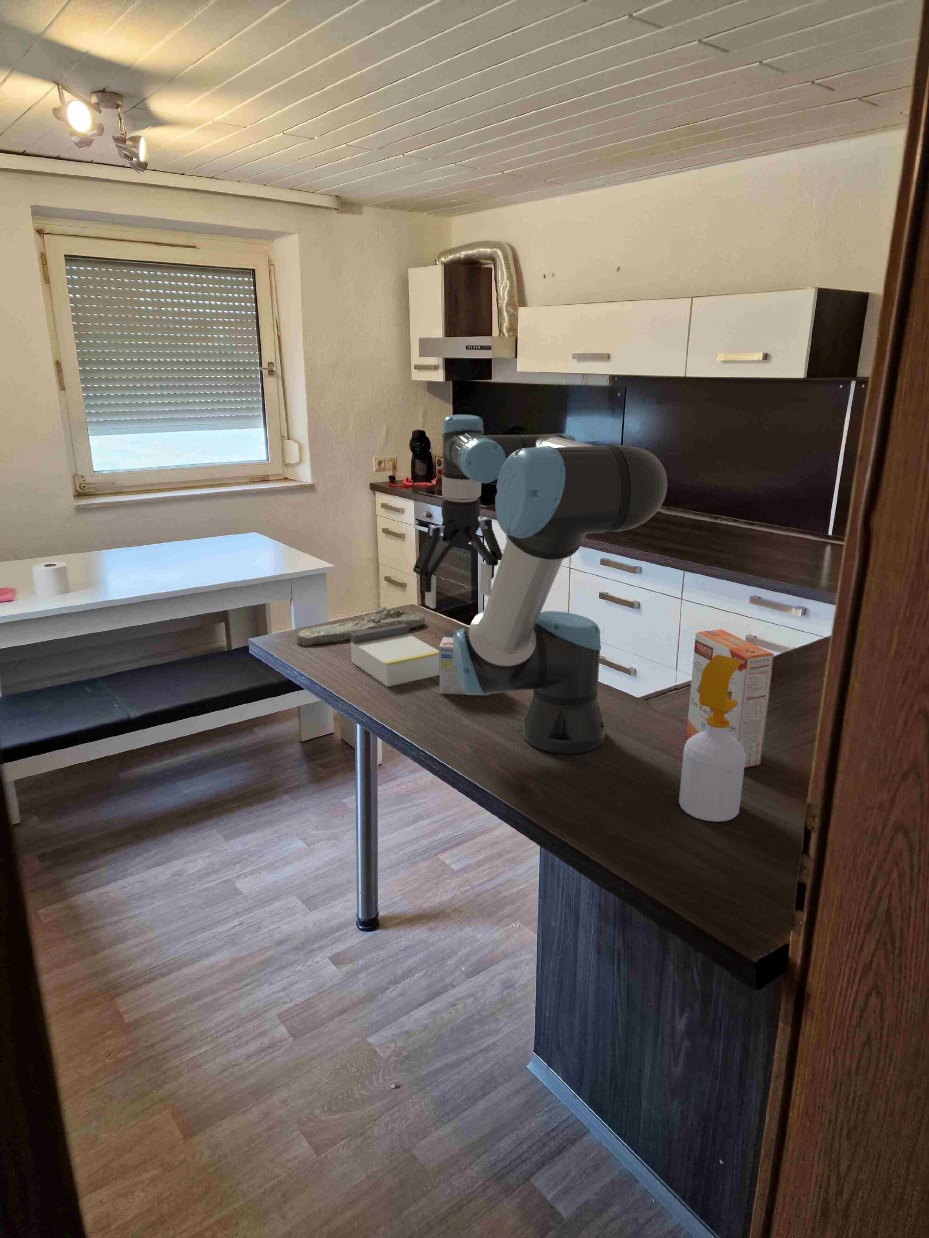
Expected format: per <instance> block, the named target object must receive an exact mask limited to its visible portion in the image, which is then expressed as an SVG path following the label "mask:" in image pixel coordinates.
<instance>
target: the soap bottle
mask: <svg viewBox="0 0 929 1238" xmlns="http://www.w3.org/2000/svg"><path fill="white" fill-rule="evenodd" d="M740 664H741V662H740V660H738V659H734V658H730V657H726V656H722V655H716V656H714V657H713V658H712V659H711V660H710V662H709V663H708V664H707V665H706V666H705V668H704V669H703V672H702V676H701V685H700V696H699V704H700V705H703V706H706V707H710V711H711V712H713V716H710V717H708V718H707V720H706V730H705V731H704V732H700V733H697V734H696V735H694V736H692V737H691V738H688V739H687V740H686V742H685V744H684V746H683V747H684V748H683V753H682V764H681V765H682V766H681V775H680V777H681V778H680V786H679V797H678V803H679V805H680V808H681V810H683V811H684V812H685V813H686V814H687V815H690V816H691V817H694V818H696V819H699V820H702V821H707V822H716V823H717V822H727V821H730V820H733V819H734V818H736V817H737V816H738V815H739V814H740V807H741V797H742V791H743V790H742V789H743V782H744V774H745V768H744V766H745V758H746V753H745V750H744V748H743V746H742V745H741V743H739V742H738V741H737V740H736V739H735V738H733V737H732V736H730V735H729V734H728V730H729V720H728V719H726V718H724V714H726V713H728V712H729V711H730V710H731V709H733V708H734V707H735V706H737V704H738V703H737V701H735V700H731V699H728V698H727V693H728V685H729V680H730V678H731V676H732V674H733V673H734V672H735V671H736V669H737V668H738V667H739V666H740Z"/></svg>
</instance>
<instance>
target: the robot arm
mask: <svg viewBox="0 0 929 1238" xmlns="http://www.w3.org/2000/svg"><path fill="white" fill-rule="evenodd" d="M484 433H485V430H484V422H483V419H482V418H481V417H480V416H477V415H474V414H473V415H472V414H452V415H451V414H450V415H448V416H446V417H445V418H444V419H443V428H442V433H441V437H442V463H441V464H442V474H441V475H442V477H441V481H442V482H441V483H442V484H441V488H442V489H441V494H442V496H443V497H442V499H441V517H442V523H441V525H434V524H432V523H431V524H428V526H427V534H426V538H425V539H424V542H423V545H422V546H421V549H420V551H419V554H418V556H417V559H416V560H415V563H414V566H413V570H412V571H413V573H415V574H417V575H419V576H421V577H422V579H421V580H422V581H421V583H422V584H421V589H422V591H423V592H424V594H425V595H424V597H425V598H424V605H426V606H428V607H429V608H431V609H436V608H437V606H436V605H437V576H436V575H434V574H435V573H436V571H437V569H438V568H439V566H440V565H441V564H442V562H443V560H444V559H445V558H446V556H447V555H448V554H449V553H448V552H449V551H450V550H452V549H453V548H454V546H456V547H459V546H461V545H470V544H471V545H472V546H473V548H474V549H475V550H476V551H477V553H478V554H479V556H481V558H482V560H484V561H483V562H481V563H480V585H479V587H480V588H479V589H480V592H479V593H480V594H482V595H484V596H486V597H488V598H487V602H486V604H485V607H484V610H483V611H481V612H480V613H478V614H476V615H475V616H474V618H473V619H472V621H471V623H470V624H469V628H467V629H466V628H465V627H462V628H461V629H457V630H455V631H454V632H453V634H452V638H453V653H454V661H455V666H456V672H457V676H458V680H459V683H460V686H461V688H462V690H463V691H464V692H465V693H466V694H468V695H467V696H487V695H486V694H489V695H493V694H501V693H512V692H519V691H527V690H530V691H531V690H533V694H532V698H531V702H530V704H529V707H528V710H527V712H526V715H525V717H524V719H523V722H522V737H523V739H524V741H525V742H526V743H528V744H529V745H530V746H532V747H534V748H536V749H538V750H541V751H544V752H549V753H554V754H565V755H568V754H571V755H573V754H583V753H588V752H591V751H593V750H596V749H598V748H599V747H600V746H602V744H603V743H604V741H605V737H606V736H605V732H606V728H605V723H604V721H603V716H602V712H601V710H600V709H601V708H600V705H599V701H598V689H599V687H598V686H599V674H600V673H599V672H600V656H601V650H602V645H601V629H600V627H599V625H598V623H596V622H594V620H592V619H590V618H588V617H586V616H583V615H579V614H577V613H571V612H567V611H560V610H559V611H558V610H555V611H554V610H551V611H550V610H545V611H542V610H543V608H544V605H545V603H546V600H547V598H548V596H549V594H550V592H551V589H552V586H553V585H554V582H555V579H556V577H557V575H558V572H559V570H560V568H561V565H562V563H563V561H564V560H565V559H567V558H570V557H572V556H573V555H574V554H575V553H577V552H578V550H580V547H581V546H582V544H583V541H584V539H585V537H586V535H587V534H595V533H597V534H598V533H613V532H623V531H627V530H630V529H635V528H636V527H639V526H641V525H643V524H644V523H647V521H649V520H650V519H651V518H653V516H655V515H656V514H657V512H658V511H659V510H660V509H661V506H662V504H663V503H664V502H665V498H666V496H667V491H668V479H667V477H668V476H667V473H666V470H665V468H664V466H663V464H662V463H661V461H660V460H659V458H658V457H657V456H656V455H654V454H653V453H652V452H650V451H649V450H646V449H644V448H640V447H637V446H632V445H622V444H615V445H614V444H611V445H593V444H590V443H589V444H588V443H584V442H581V441H577V440H576V438H575V436H574V435H572V434H567V433H566V434H565V433H559V432H558V433H555V432H554V433H549V434H548V433H546V434H545V433H544V434H540V433H539V434H495V435H494V434H491V435H489V434H488V435H487V434H485V435H484ZM496 480H497V482H496V486H495V487H496V490H497V491H496V495H495V496H494V497H495V499H494V503H495V506H494V507H495V515H496V519H497V523H498V525H499V527H500V529H501V531H502V532H503V533H504V534H505V536H506V538H507V541H506V543H505V546H504V549H503V551H502V550H501V548H500V544H499V542H498V539H497V538H496V537H497V536H496V535H495V532H494V529H493V521H492V519H491V518H489V517H486V516H483V515H482V516H481V500H480V497H481V496H482V484H488V483H492V482H494V481H496ZM479 529H480V530H481V531H480V532H481V533H482V535H483V538H484V541H485V543H486V545H487V546H486V545H485V544H484V543H483V542H482V539H481V538H480V536H479V535H478V533H477V532H478V531H479ZM502 552H503V553H502ZM499 561H500V562H499ZM495 566H496V567H497V566H498V568H497V571H496V575H495ZM492 579H493V584H492Z"/></svg>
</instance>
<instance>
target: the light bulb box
mask: <svg viewBox="0 0 929 1238" xmlns="http://www.w3.org/2000/svg"><path fill="white" fill-rule="evenodd" d="M438 651H439V675H438V676H439V682H438V683H439V695H441V694H442V695H462V696H463V695H467V696H469V695H468V694H466V693H465V692H464V691H463V690H462V688H461V686H460V683H459V680H458V676H457V672H456V666H455V661H454V653H453V637H447V636H442V640H441V642H440V644H439V648H438ZM489 695H490V694H486V695H485V696H486V697H487V696H489Z"/></svg>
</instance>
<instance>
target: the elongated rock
mask: <svg viewBox="0 0 929 1238" xmlns="http://www.w3.org/2000/svg"><path fill="white" fill-rule="evenodd" d="M425 622H426V617H425V615H424V614H422V613H420V612H411V611H408V610H405V609H401V608H400V609H399V608H398V609H397V608H394V607H393V608H387V607H386V606H383V607H379V608H378V609H377V610H376V611H375V612H374V613H372V614H368V615H365V616H363V617H362V618H360V619H355V620H353V621H352V620H350V621H345V622H338V623H334V624H326V625H322V626H321V625H319V626H316V627H310V628H309V627H308V628H303V629H302V630H299V631H298V632H297V634H296V636H297V637H296V643H297V644H298V645H300V646H303V647H308V646H309V647H310V646H313V645H323V644H328V643H329V644H330V643H341V642H342V643H344V642H345V641H346V640H347V641H351V633H355V632H361V631H366V630H372V629H377V628H383V627H388V626H394V625H399V624H406V625H408V631H410V630H411V629H414V628H418V627H420V626H422V625H424V624H425ZM343 641H344V642H343ZM347 641H346V642H347Z"/></svg>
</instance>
